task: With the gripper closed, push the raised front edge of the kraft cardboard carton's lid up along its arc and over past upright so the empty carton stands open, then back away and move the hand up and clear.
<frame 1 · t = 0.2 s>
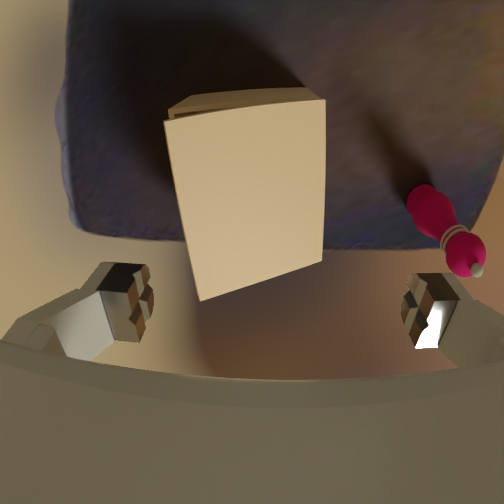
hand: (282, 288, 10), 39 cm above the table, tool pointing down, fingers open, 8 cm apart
carton lid: (257, 202, 33), point 16 cm above the table, hinge at 25.0°
carton: (253, 155, 46), on the table
pepper mill: (421, 200, 49), on the table
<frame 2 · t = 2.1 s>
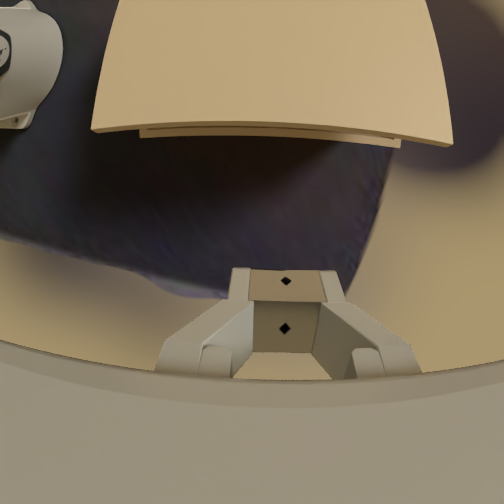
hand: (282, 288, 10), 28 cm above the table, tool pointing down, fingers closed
carton lid: (277, 6, 15), point 16 cm above the table, hinge at 25.0°
carton: (271, 49, 29), on the table
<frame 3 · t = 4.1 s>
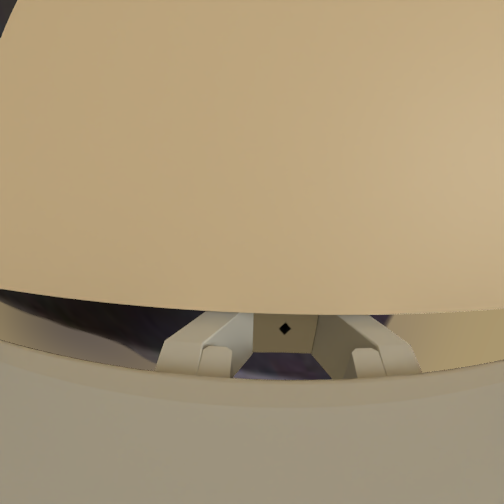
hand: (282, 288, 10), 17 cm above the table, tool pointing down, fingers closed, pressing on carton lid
carton lid: (296, 2, 7), point 16 cm above the table, hinge at 25.2°, touching gripper
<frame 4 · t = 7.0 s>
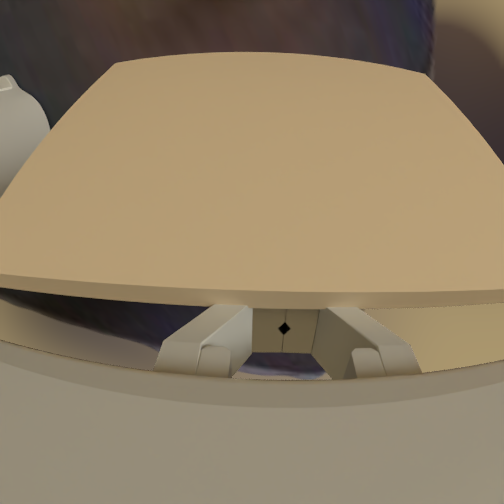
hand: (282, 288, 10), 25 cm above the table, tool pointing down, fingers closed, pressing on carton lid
carton lid: (276, 118, 12), point 20 cm above the table, hinge at 66.7°, touching gripper
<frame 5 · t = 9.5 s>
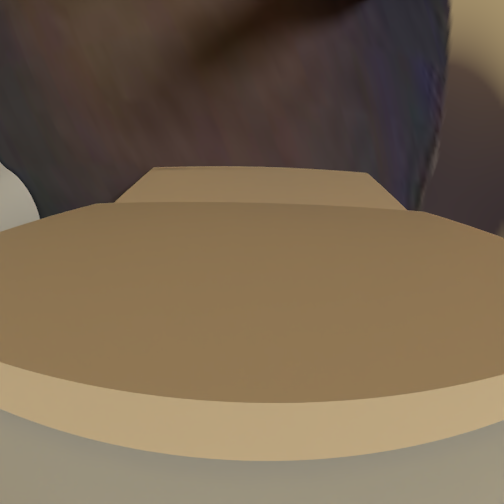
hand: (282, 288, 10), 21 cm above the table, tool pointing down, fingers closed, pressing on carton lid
carton lid: (267, 240, 10), point 20 cm above the table, hinge at 104.8°, touching gripper
carton: (258, 245, 33), on the table
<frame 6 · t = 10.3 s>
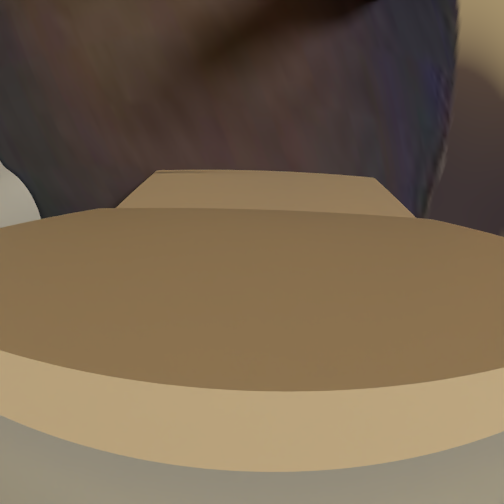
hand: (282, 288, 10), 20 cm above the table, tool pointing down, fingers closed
carton lid: (277, 241, 10), point 19 cm above the table, hinge at 107.5°
carton: (263, 250, 32), on the table
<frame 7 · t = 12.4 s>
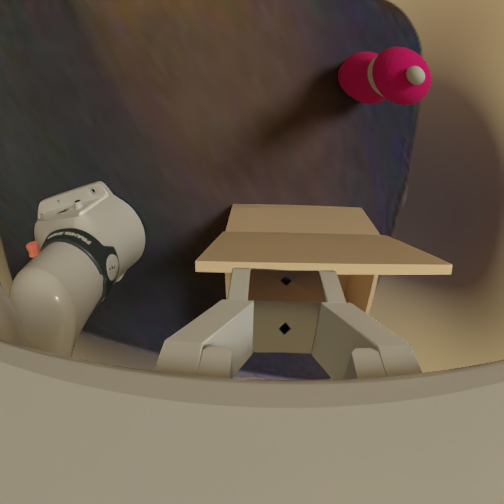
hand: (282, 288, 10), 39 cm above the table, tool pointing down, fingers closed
carton lid: (318, 248, 31), point 19 cm above the table, hinge at 107.5°
carton: (295, 251, 53), on the table
pepper mill: (358, 78, 39), on the table
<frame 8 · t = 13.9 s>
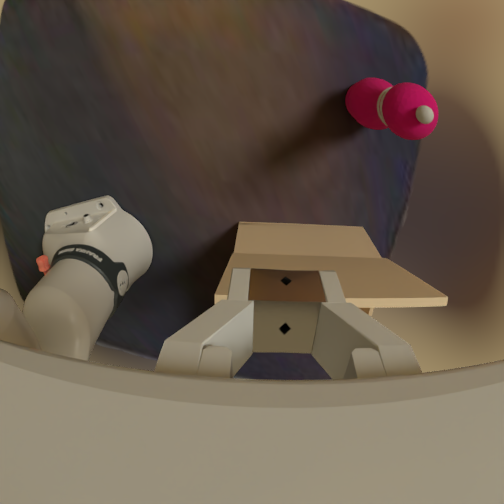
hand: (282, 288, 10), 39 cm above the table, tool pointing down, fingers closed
carton lid: (324, 276, 33), point 19 cm above the table, hinge at 107.5°
carton: (298, 267, 55), on the table
pepper mill: (365, 101, 41), on the table
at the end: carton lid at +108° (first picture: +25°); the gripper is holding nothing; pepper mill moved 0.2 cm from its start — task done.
